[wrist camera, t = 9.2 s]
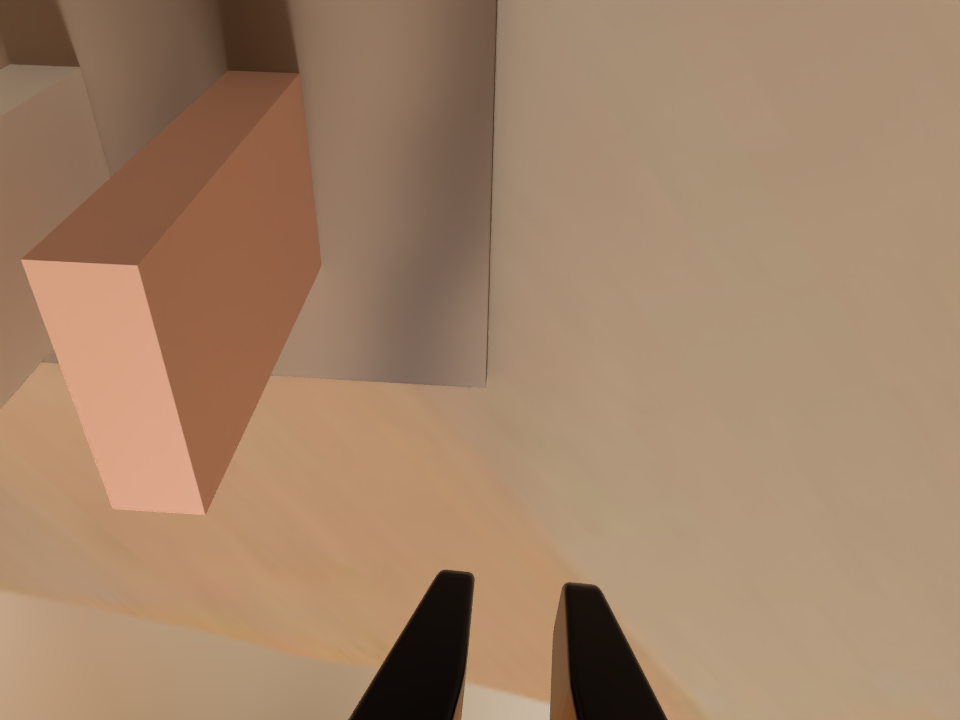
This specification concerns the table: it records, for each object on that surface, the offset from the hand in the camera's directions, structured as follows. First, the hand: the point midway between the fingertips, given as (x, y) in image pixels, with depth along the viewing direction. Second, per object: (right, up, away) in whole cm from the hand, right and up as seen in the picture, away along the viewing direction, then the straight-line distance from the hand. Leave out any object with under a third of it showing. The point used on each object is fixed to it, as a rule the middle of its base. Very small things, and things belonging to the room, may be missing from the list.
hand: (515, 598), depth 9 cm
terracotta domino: (-5, +7, +9) cm, 13 cm away
